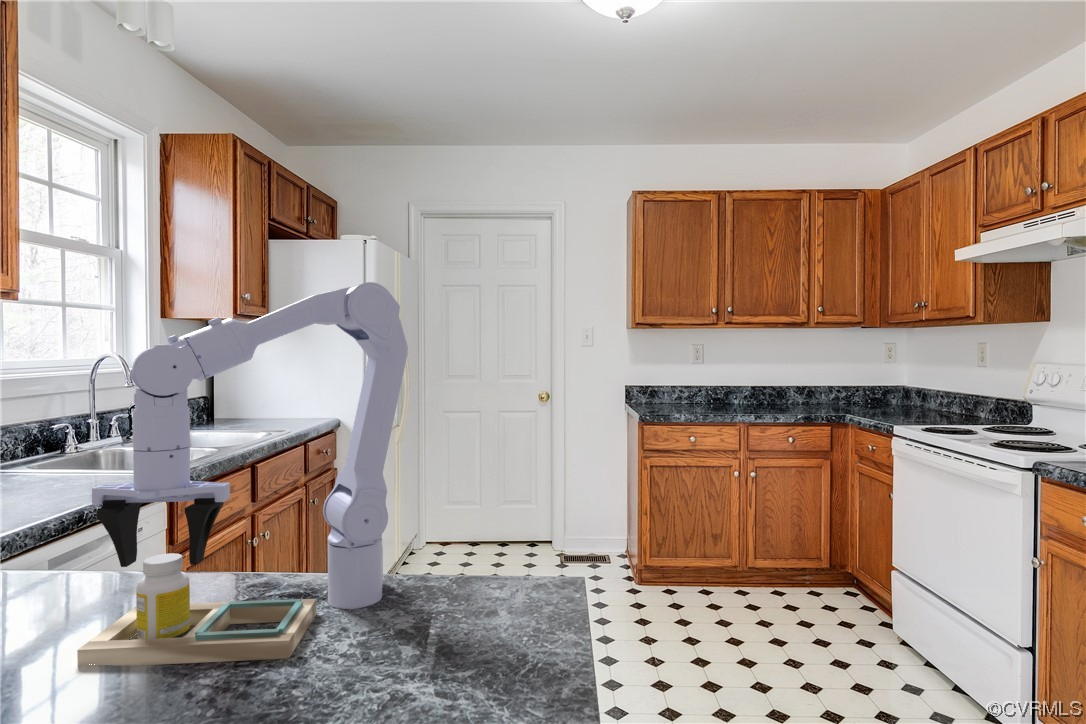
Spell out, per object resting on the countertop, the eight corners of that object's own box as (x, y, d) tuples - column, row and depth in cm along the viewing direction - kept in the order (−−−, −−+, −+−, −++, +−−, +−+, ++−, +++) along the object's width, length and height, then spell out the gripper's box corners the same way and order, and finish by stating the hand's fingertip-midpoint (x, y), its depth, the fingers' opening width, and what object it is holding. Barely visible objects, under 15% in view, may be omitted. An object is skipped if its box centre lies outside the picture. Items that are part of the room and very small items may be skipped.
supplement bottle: (198, 630, 78) (198, 550, 77) (174, 651, 72) (173, 565, 72) (153, 631, 77) (153, 551, 77) (126, 652, 72) (125, 566, 72)
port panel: (137, 621, 80) (137, 601, 80) (316, 614, 82) (316, 594, 82) (77, 668, 68) (77, 645, 68) (289, 658, 70) (289, 636, 70)
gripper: (74, 454, 70) (75, 577, 70) (212, 452, 71) (213, 572, 71) (111, 445, 77) (112, 556, 77) (236, 443, 78) (236, 553, 78)
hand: (162, 563), depth 75 cm, fingers open, 7 cm apart
